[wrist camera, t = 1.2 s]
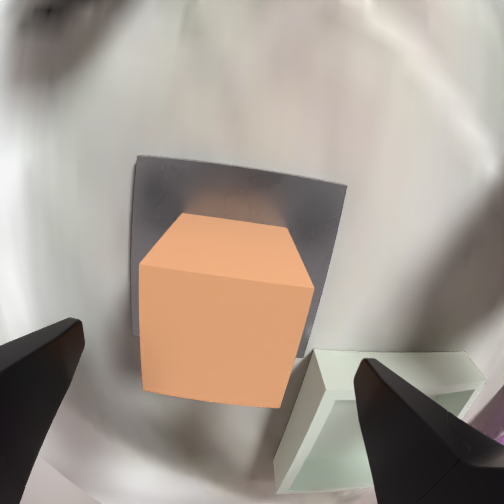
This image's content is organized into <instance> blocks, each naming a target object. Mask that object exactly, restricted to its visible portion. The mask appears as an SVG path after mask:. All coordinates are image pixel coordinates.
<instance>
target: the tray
mask: <svg viewBox="0 0 504 504" xmlns="http://www.w3.org/2000/svg"><path fill="white" fill-rule="evenodd" d="M363 358H375V359H377V360H378V361H379V362H381V363H382V364H384V365H385V366H386V367H388V368H389V369H390V370H392V371H393V372H395V373H396V374H397V375H399V376H400V377H402V378H403V379H404V380H406V381H407V382H408V383H410V384H411V385H413V386H414V387H415V388H417V389H418V390H420V391H421V392H422V393H424V394H425V395H427V396H428V397H429V398H431V399H432V400H434V401H435V402H436V403H438V404H439V405H441V406H442V407H444V408H445V409H446V410H447V411H449V412H451V413H452V414H453V415H455V416H456V417H458V418H459V419H462V417H463V416H464V415H465V413H466V412H467V410H468V409H469V408H470V406H471V405H472V403H473V402H474V400H475V399H476V397H477V396H478V394H479V392H480V391H481V389H482V388H483V386H484V384H485V383H486V381H487V380H488V379H487V378H486V376H485V375H484V374H483V373H482V372H481V370H480V369H479V368H478V367H477V366H476V364H475V363H474V362H473V361H472V360H471V358H470V357H469V356H468V355H467V354H466V353H465V351H457V352H361V351H339V350H322V349H314V350H313V353H312V356H311V359H310V362H309V365H308V368H307V371H306V374H305V377H304V380H303V383H302V386H301V389H300V392H299V394H298V397H297V400H296V403H295V405H294V408H293V411H292V414H291V416H290V419H289V422H288V424H287V427H286V429H285V432H284V435H283V437H282V440H281V442H280V445H279V447H278V450H277V452H276V455H275V457H274V459H273V465H274V478H275V490H276V494H310V493H326V492H337V491H347V490H355V489H363V488H369V487H374V484H373V479H372V475H371V470H370V466H369V462H368V457H367V453H366V449H365V445H364V441H363V437H362V433H361V429H360V424H359V420H358V413H357V405H356V398H355V391H354V384H353V380H354V376H355V374H356V371H357V369H358V367H359V364H360V362H361V360H362V359H363Z"/></svg>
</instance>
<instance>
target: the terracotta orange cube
mask: <svg viewBox="0 0 504 504" xmlns="http://www.w3.org/2000/svg"><path fill="white" fill-rule="evenodd" d="M313 292H314V286H313V284H312V282H311V279H310V277H309V275H308V273H307V270H306V268H305V266H304V264H303V262H302V259H301V257H300V255H299V253H298V251H297V248H296V246H295V244H294V242H293V240H292V238H291V235H290V233H289V231H288V229H287V228H285V227H278V226H271V225H265V224H258V223H251V222H244V221H237V220H230V219H223V218H216V217H208V216H201V215H193V214H186V213H182V214H181V215H180V216H179V217H178V218H177V220H176V221H175V222H174V223H173V224H172V225H171V226H170V228H169V229H168V230H167V231H166V232H165V233H164V235H163V236H162V237H161V238H160V239H159V241H158V242H157V243H156V244H155V245H154V247H153V248H152V249H151V250H150V251H149V253H148V254H147V255H146V256H145V257H144V259H143V260H142V261H141V262H140V264H139V329H140V352H141V369H142V382H143V390H144V391H149V392H154V393H159V394H164V395H170V396H176V397H181V398H188V399H194V400H201V401H208V402H216V403H224V404H233V405H243V406H254V407H267V408H280V406H281V403H282V400H283V396H284V393H285V390H286V387H287V384H288V381H289V377H290V374H291V371H292V367H293V364H294V361H295V357H296V354H297V351H298V347H299V344H300V340H301V337H302V333H303V330H304V326H305V322H306V319H307V315H308V311H309V308H310V304H311V300H312V296H313Z"/></svg>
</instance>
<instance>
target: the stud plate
mask: <svg viewBox="0 0 504 504" xmlns="http://www.w3.org/2000/svg"><path fill="white" fill-rule="evenodd" d="M346 189H347V186H346V185H344V184H340V183H335V182H330V181H325V180H320V179H315V178H309V177H304V176H298V175H293V174H287V173H281V172H275V171H269V170H263V169H256V168H250V167H243V166H236V165H229V164H221V163H213V162H205V161H197V160H188V159H178V158H168V157H158V156H146V155H139V156H137V163H136V174H135V186H134V199H133V216H132V241H131V309H132V333H133V335H134V336H139V337H140V329H139V264H140V262H141V261H142V260H143V259H144V257H145V256H146V255H147V254H148V253H149V251H150V250H151V249H152V248H153V247H154V245H155V244H156V243H157V242H158V241H159V239H160V238H161V237H162V236H163V235H164V233H165V232H166V231H167V230H168V229H169V228H170V226H171V225H172V224H173V223H174V222H175V221H176V220H177V218H178V217H179V216H180V215H181V214H182V213H186V214H193V215H201V216H208V217H216V218H223V219H230V220H237V221H244V222H251V223H258V224H265V225H271V226H278V227H285V228H287V229H288V231H289V233H290V235H291V238H292V240H293V242H294V244H295V246H296V248H297V251H298V253H299V255H300V257H301V259H302V262H303V264H304V266H305V268H306V270H307V273H308V275H309V277H310V279H311V282H312V284H313V286H314V292H313V296H312V300H311V304H310V308H309V311H308V315H307V319H306V322H305V326H304V330H303V333H302V337H301V340H300V344H299V347H298V351H297V354H296V357H295V358H303V357H304V353H305V350H306V347H307V344H308V340H309V337H310V334H311V330H312V327H313V323H314V320H315V316H316V313H317V309H318V306H319V302H320V298H321V295H322V291H323V287H324V283H325V280H326V276H327V272H328V268H329V264H330V260H331V256H332V252H333V248H334V243H335V239H336V235H337V231H338V226H339V222H340V217H341V213H342V208H343V203H344V199H345V194H346Z"/></svg>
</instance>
